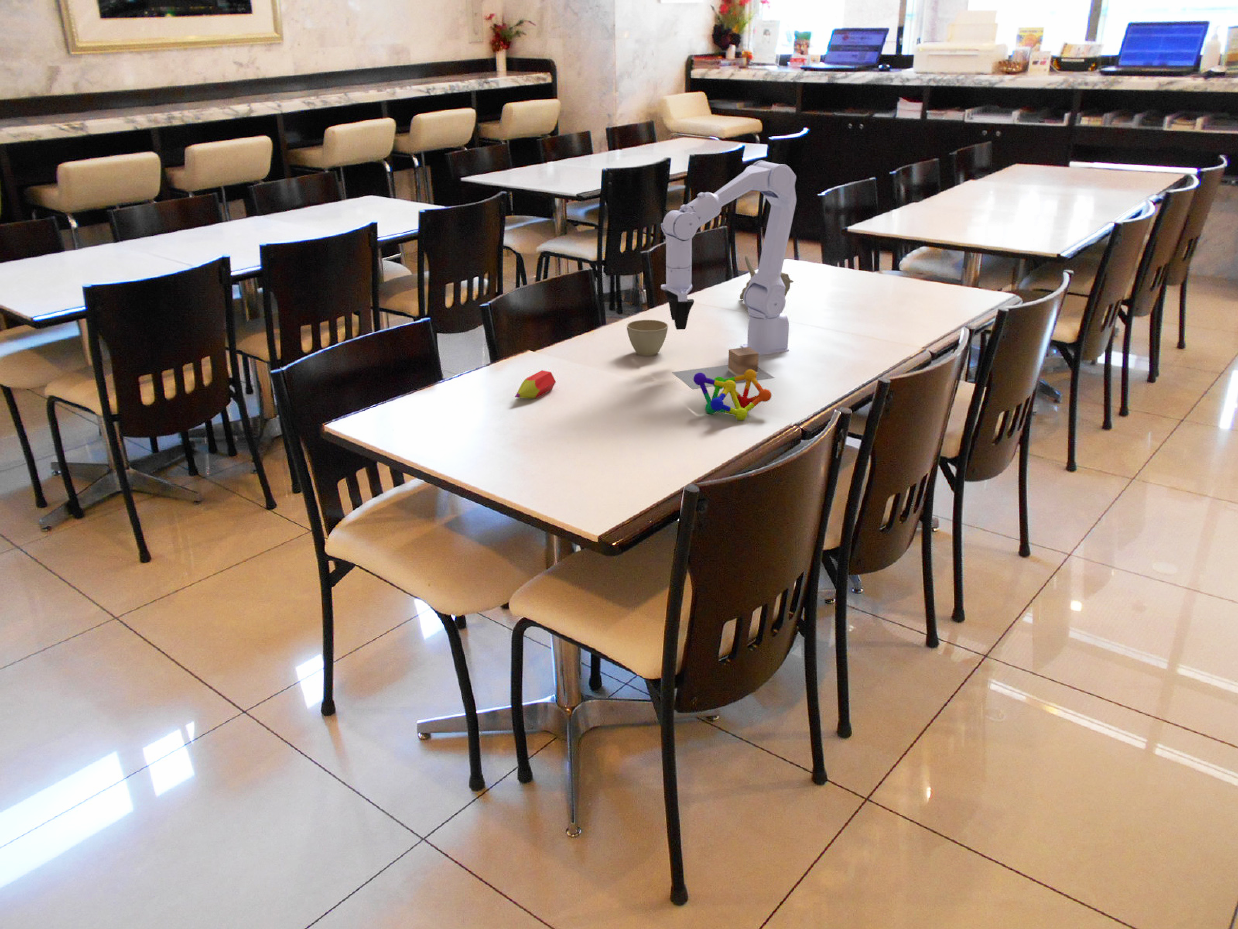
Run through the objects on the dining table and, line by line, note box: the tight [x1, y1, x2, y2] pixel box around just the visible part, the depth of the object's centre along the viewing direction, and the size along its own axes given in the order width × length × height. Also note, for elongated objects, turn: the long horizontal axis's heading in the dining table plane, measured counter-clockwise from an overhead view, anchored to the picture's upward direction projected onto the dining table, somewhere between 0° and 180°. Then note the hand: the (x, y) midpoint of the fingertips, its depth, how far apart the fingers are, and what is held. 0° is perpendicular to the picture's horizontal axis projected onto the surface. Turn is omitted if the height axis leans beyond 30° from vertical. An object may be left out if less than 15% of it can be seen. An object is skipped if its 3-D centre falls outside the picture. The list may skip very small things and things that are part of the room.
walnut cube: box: [727, 347, 759, 376], centre depth 214 cm, size 5×5×5 cm
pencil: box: [514, 369, 557, 400], centre depth 202 cm, size 5×12×4 cm, turn 150°
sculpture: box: [739, 255, 794, 299], centre depth 258 cm, size 6×18×30 cm
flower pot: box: [626, 319, 669, 357], centre depth 228 cm, size 10×10×7 cm
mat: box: [672, 364, 775, 390], centre depth 213 cm, size 20×12×1 cm, turn 109°
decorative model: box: [694, 369, 772, 421], centre depth 192 cm, size 13×9×15 cm
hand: (678, 324), depth 217 cm, fingers open, 7 cm apart
